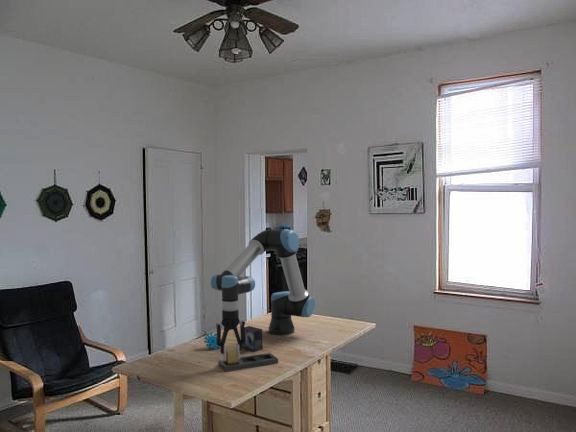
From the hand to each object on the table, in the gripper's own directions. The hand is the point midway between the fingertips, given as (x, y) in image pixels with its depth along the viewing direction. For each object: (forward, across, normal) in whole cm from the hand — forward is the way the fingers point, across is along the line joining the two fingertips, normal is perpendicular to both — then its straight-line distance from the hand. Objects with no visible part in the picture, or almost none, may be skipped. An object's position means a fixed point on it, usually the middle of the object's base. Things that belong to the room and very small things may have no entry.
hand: (231, 359), depth 226 cm
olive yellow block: (+4, 0, 0) cm, 4 cm away
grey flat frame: (+4, -8, 0) cm, 9 cm away
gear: (+4, -1, -32) cm, 32 cm away
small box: (+4, -18, -22) cm, 29 cm away
